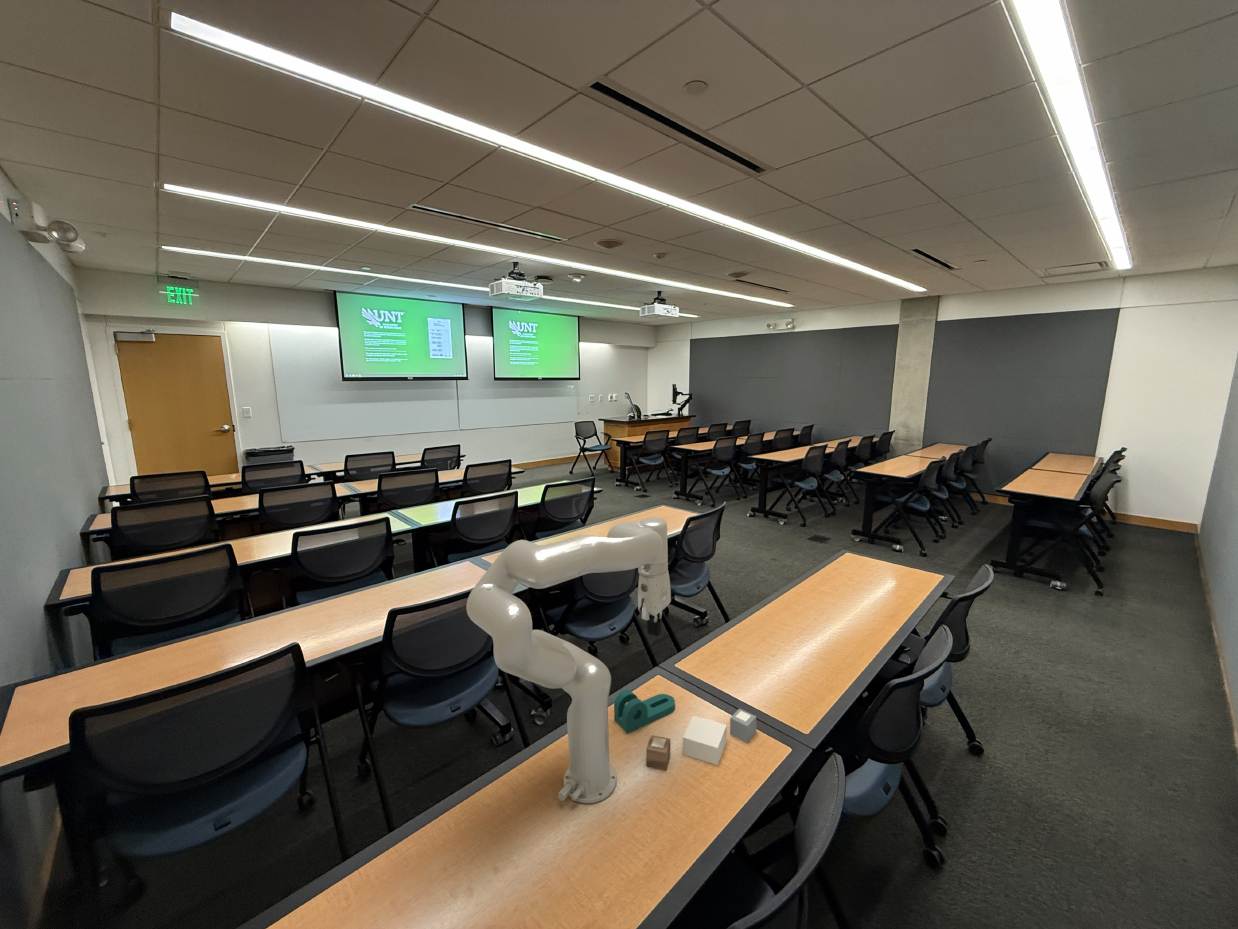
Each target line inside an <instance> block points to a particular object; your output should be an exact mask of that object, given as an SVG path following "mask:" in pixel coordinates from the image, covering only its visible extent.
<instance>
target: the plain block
mask: <svg viewBox="0 0 1238 929" xmlns="http://www.w3.org/2000/svg"><path fill="white" fill-rule="evenodd" d="M727 729H728V726H727V724H725V723H722V722H718V721H714V720H710V719H707V718H703V717H699V716H696V715H693V716H692V718H691V719H690V722H689V724H688V725H687V728H686V730H685V732H684V734H683V736H682V755H685V756H688V757H691V758H693V759H696V760H700V761H703V762H705V763H708V764H712V765H715V766H718V765H719V763H720V760H721V758H722V754H723V752H724V750H725V748H726V744H727V741H728V740H727V738H728V734H727V731H728V730H727Z"/></svg>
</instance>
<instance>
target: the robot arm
mask: <svg viewBox="0 0 1238 929" xmlns="http://www.w3.org/2000/svg"><path fill="white" fill-rule="evenodd" d="M668 549H669V547H668V523H667V522H666V520H664V518H663V519H662V518H661V517H644V518H642V519H640V520H636V521H624V522H619V523H616V524H614V525H613V526H612V527H611V528H610V529H609V530H608V533H607V536H606V537H605V536H599V535H598V536H597V535H592V534H590V535H589V534H587V535H586V534H585V535H584V534H581V535H576V536H573V537H570V538H569V537H568V538H566V539H563V540H558V541H554V542H550V543H546V544H540V545H539V544H536V543H534V542H531V541H529V540H526V539H520V540H519V539H518V540H515V541H513V542H512V543H510V544H509V545H508V546H507V547H505V549H504V550H503V551H502V552H501V553H500V554H499V555H498V556H497V558H495V560H494V561H493V562H492V564H490V566H489V568H488V569H486V571H485V573H484V574H483V575H482V577H481V578H480V579H479V580H478V581H477V583H476V584H475V585H474V587H473V589H472V590H471V591H470V593H469V595H468V598H467V600H466V613H467V616H468V617H469V619H470V620H471V621H472V622H473V623H474V624H475V625H477V626H478V627H479V628H480V629H481V630H483V631H484V632H486V633H487V634H488V635H489V636H490V637H491V638H492V641H493V643H492V644H493V658H494V661H495V664H496V666H497V667H498V669H500V670H501V671H502V672H505V673H507V674H510V675H512V676H516V677H518V678H520V679H523V680H525V681H528V682H530V683H534V684H536V685H539V686H541V687H543V688H547V689H563V691H564V692H566V693H567V694H568V695H569V696H570V698H571V702H570V703H571V704H570V705H569V707H568V709H567V712H566V722H567V723H566V724H567V725H566V726H567V742H568V745H567V746H568V760H569V762H568V764H569V767H568V768H567V770H566V771H565V773H564V775H563V776H564V777H563V788H561V790H560V791H559V792H558V793H557V797H558V799H559V800H560V801H561V802H564V801H565V800H566V799H567V798H568V797H569V798H571V800H572V801H574V802H575V801H576V802H577V803H580V804H581V803H582V804H594V803H599V802H600V801H604V800H605V799H607V798H608V797H609V796H610V795H611V794H612V793H613V792H614V790H615V789H616V786H617V782H618V781H617V780H618V778H617V772H616V769H615V767H614V766H613V765H612V764H611V763H610V734H609V732H610V730H609V709H608V708H609V697H610V690H611V686H612V685H611V684H612V676H611V672H610V670H609V668H608V667H607V666H606V665H605V663H604V662H602V661H601V660H600V659H598V658H597V657H596V656H593V655H592V654H590V653H589V652H588V651H584V650H583V649H581V648H580V647H578V646H577V645H575V644H573V643H572V642H569V641H567V640H565V639H562V638H560V637H557V636H556V635H553V634H551V633H548V632H546V631H544V630H540V629H533V620H532V618H533V617H532V615H531V614H532V613H531V612H530V609H529V607H528V606H527V604H526V603H525V602H524V601H522V599H520V598H518V597H517V596H515V595H514V594H513V593H514V591H515V590H516V589H517V587H518V586H519V585H520V583H522V584H523V585H525V586H527V587H530V588H532V589H538V590H539V589H540V590H541V589H546V588H549V587H553V586H555V585H558V584H561V583H563V582H567V581H570V580H572V579H575V578H578V577H581V576H584V575H587V574H592V573H593V574H594V573H597V574H598V573H599V574H600V573H611V572H623V571H629V570H635V569H637V568H638V571H637V572H638V574H639V575H638V583H637V585H638V586H637V607H638V608H637V610H638V611H639V612H638V613H641V619H642V620H644V621H646V622H647V623H646V626H647V634H648V635H651V636H655V637H659V636H660V635H661V634H662V616H663V610H664V609H666V608H667V607H668V606H669V605H670V603H671V602H672V592H671V591H672V589H671V581H670V580H671V579H670V574H669V570H668V569H669V566H668V565H669V564H668V563H669V562H668V561H669V560H668V557H669V554H668V552H669V551H668Z"/></svg>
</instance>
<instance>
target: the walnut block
mask: <svg viewBox="0 0 1238 929" xmlns="http://www.w3.org/2000/svg"><path fill="white" fill-rule="evenodd" d="M671 750H672V749H671V738H670V737H665V736H664V737H663V736H660V735H654V734H651V735H650V737H649V740H648V743H647V745H646V750H645V751H646V767H647V768H652V769H656V770H661V771H665V772H667V770H668V768H669V764H670V760H671Z"/></svg>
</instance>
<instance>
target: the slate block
mask: <svg viewBox="0 0 1238 929" xmlns="http://www.w3.org/2000/svg"><path fill="white" fill-rule="evenodd" d="M729 734H730V736H732V737H734V738H736V739H738V740H739V741H742V742H744V743H746V744H748V743H749V742H750V740H752V738H753V737H754V736H755V735H756V734H757V716H756V715H755V714H752V713H750V712H748V711H746V710H743V709H741V708H738V709H737V710H736V711H735V713H733V714H732V715H731V716H730V717H729Z"/></svg>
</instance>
